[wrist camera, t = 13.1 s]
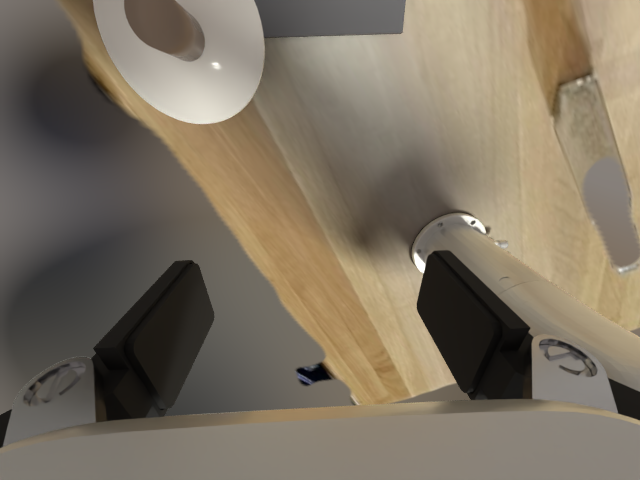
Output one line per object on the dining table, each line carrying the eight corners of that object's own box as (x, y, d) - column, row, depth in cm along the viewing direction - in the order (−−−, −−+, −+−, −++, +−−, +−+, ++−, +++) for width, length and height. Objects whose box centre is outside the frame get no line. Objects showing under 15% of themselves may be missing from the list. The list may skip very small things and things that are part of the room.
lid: (249, -79, 19) (229, -152, 13) (274, 119, 25) (268, 122, 20) (65, -75, 18) (-30, -150, 13) (142, 127, 25) (100, 132, 20)
